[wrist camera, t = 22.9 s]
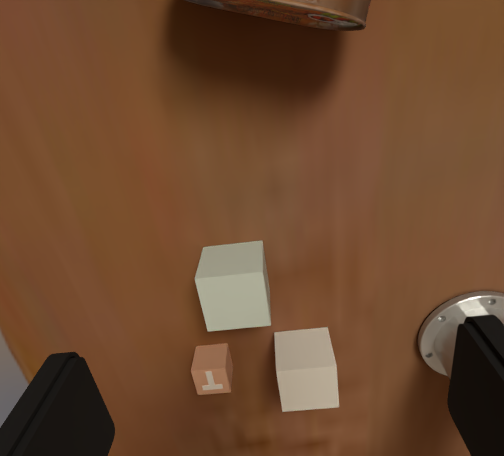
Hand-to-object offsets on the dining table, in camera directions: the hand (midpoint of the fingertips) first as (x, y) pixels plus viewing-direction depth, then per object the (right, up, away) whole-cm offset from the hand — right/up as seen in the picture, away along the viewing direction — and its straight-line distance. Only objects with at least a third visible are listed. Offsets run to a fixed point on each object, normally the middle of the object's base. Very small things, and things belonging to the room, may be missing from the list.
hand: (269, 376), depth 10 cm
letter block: (-5, -12, +38) cm, 40 cm away
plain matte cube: (-2, -1, +32) cm, 32 cm away
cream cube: (+6, -11, +37) cm, 39 cm away
